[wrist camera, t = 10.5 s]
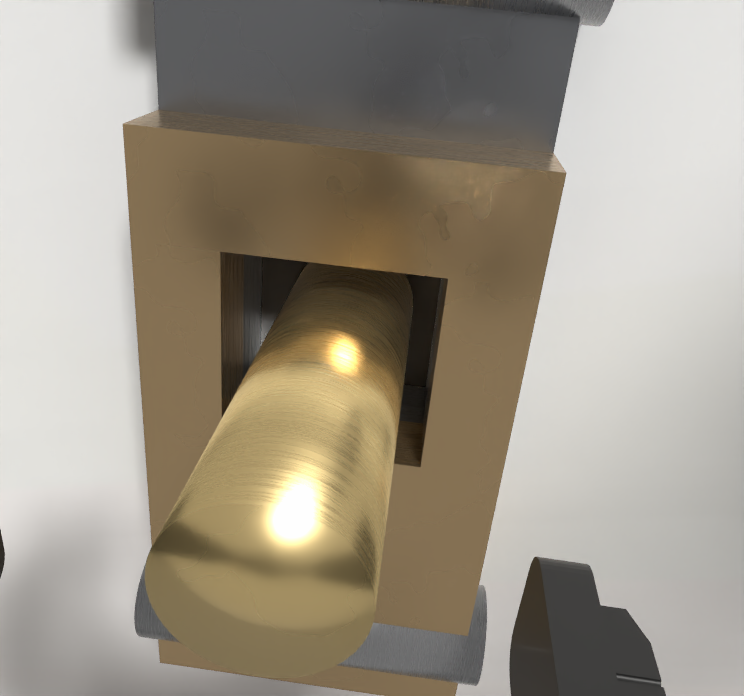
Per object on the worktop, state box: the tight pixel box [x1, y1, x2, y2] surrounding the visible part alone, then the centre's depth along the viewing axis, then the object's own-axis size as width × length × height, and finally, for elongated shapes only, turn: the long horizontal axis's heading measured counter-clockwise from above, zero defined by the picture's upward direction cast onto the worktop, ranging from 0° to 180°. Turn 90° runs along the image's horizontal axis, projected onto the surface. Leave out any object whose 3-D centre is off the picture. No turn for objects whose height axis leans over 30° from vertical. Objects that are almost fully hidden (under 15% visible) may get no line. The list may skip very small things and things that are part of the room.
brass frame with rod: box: [123, 0, 614, 696], centre depth 18 cm, size 22×10×4 cm, turn 175°
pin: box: [145, 262, 413, 678], centre depth 15 cm, size 3×3×11 cm
